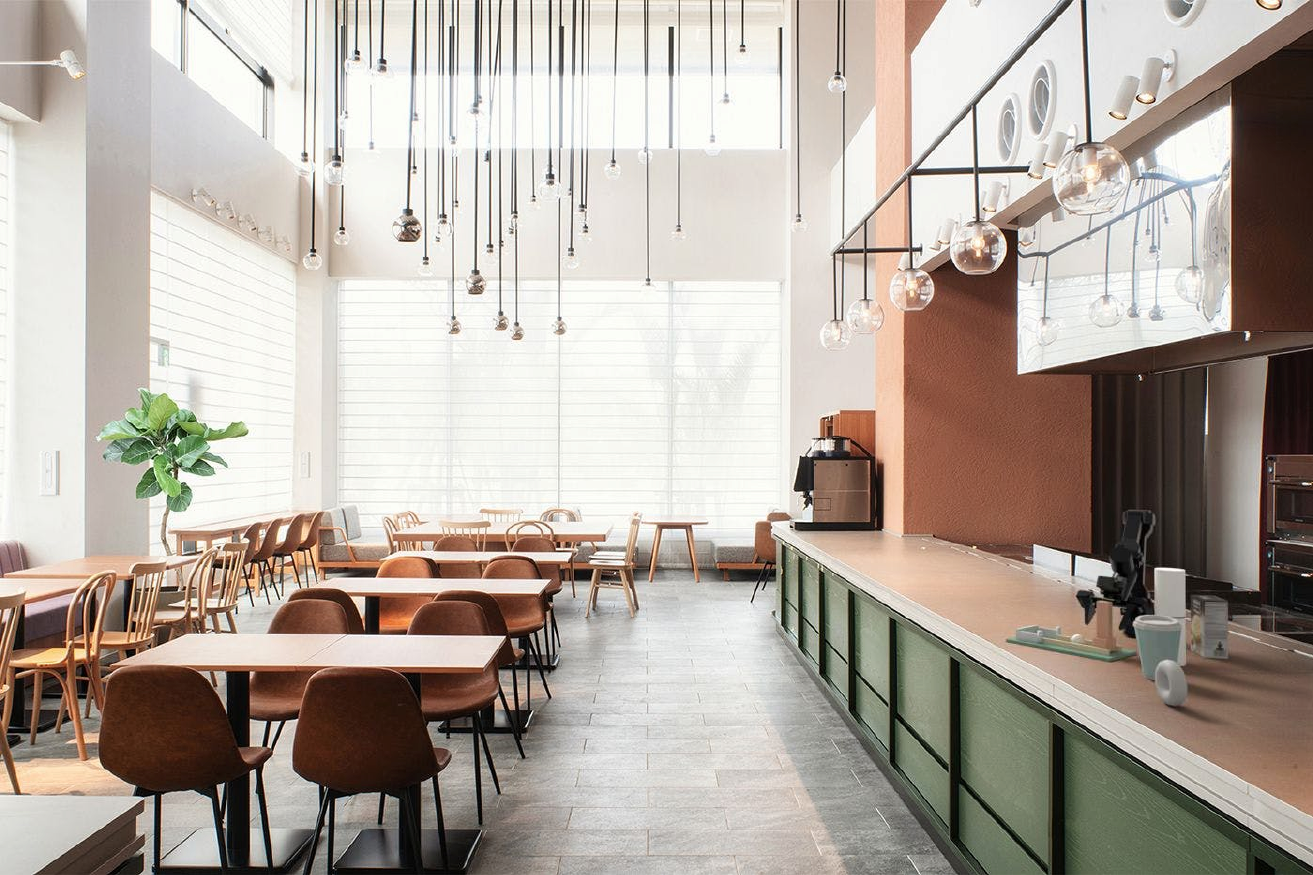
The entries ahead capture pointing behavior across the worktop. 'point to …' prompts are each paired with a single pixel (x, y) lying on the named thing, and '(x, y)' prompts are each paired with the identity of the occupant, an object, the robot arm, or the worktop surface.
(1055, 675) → the worktop surface
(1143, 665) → the disposable coffee cup
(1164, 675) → the donut
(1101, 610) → the player
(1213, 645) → the coffee box
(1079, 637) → the ball
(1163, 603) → the cylindrical container
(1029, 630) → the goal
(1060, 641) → the board
